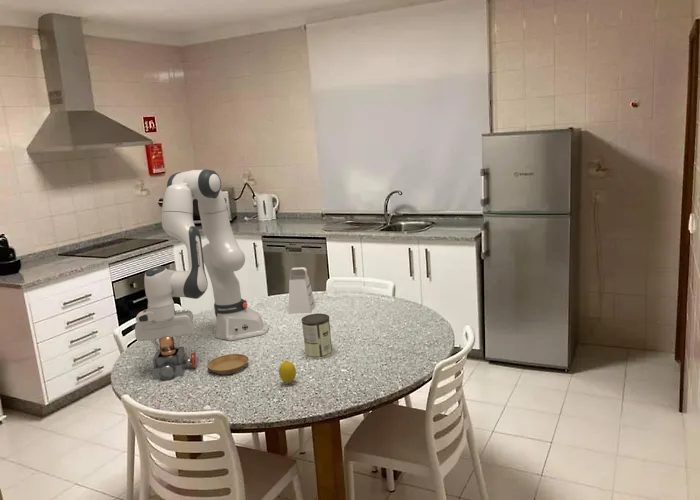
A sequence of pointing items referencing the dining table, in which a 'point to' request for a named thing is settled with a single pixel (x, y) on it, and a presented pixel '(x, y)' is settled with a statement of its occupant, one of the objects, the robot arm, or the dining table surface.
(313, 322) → the coffee can
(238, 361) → the plant saucer
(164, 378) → the valve body
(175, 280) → the robot arm
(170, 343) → the cylinder
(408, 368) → the dining table surface
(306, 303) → the grater
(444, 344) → the dining table surface
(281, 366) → the lemon
